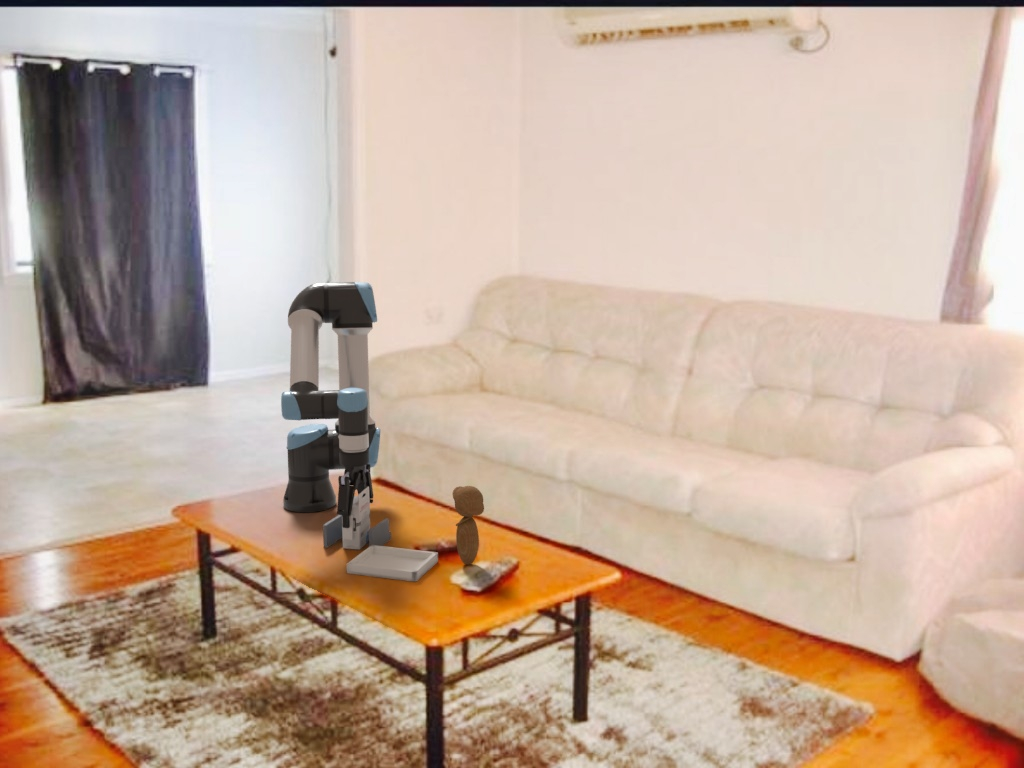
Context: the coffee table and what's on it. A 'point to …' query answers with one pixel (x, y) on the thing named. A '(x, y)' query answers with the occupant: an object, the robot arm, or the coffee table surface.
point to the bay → (376, 534)
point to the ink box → (359, 521)
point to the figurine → (467, 521)
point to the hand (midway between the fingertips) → (356, 533)
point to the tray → (392, 563)
